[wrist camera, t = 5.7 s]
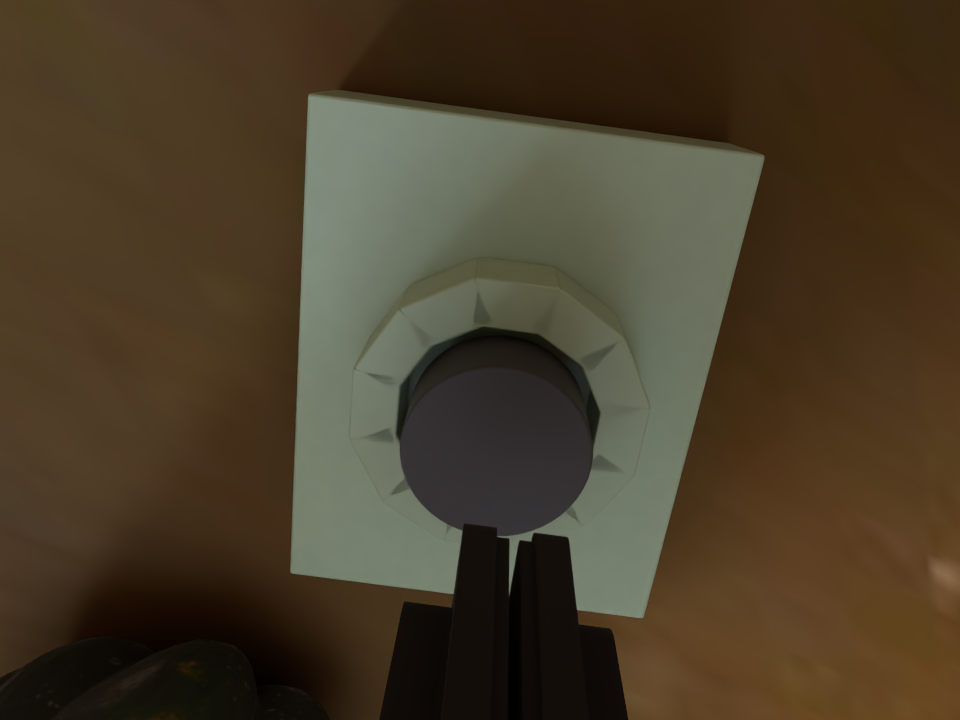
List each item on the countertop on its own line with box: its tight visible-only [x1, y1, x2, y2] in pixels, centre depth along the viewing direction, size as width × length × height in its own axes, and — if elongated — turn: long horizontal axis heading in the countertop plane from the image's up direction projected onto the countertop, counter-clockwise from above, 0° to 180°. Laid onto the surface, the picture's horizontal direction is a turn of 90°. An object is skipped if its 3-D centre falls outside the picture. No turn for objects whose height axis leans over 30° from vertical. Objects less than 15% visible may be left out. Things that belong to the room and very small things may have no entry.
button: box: [400, 335, 593, 537], centre depth 18 cm, size 4×4×2 cm
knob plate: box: [290, 90, 765, 618], centre depth 20 cm, size 14×11×5 cm
